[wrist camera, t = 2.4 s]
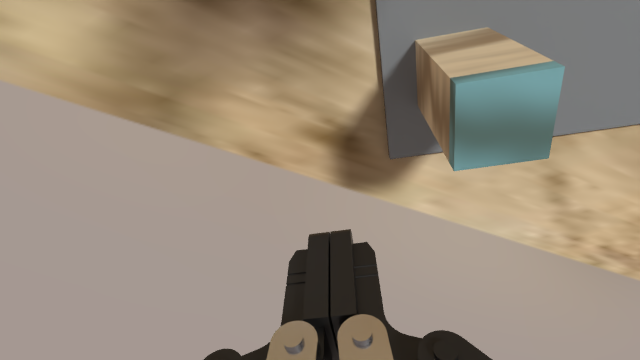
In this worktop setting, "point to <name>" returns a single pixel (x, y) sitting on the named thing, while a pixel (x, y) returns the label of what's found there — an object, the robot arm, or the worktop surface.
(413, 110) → the slate mat
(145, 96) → the worktop surface
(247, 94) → the worktop surface
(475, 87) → the maple block
